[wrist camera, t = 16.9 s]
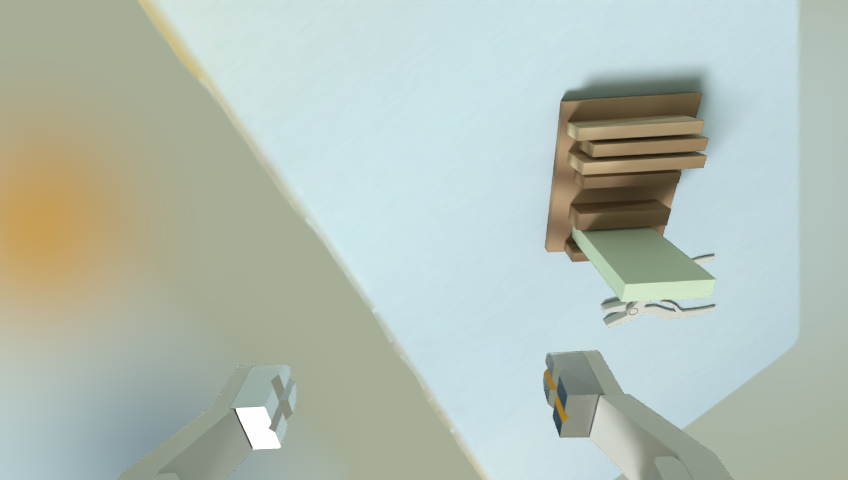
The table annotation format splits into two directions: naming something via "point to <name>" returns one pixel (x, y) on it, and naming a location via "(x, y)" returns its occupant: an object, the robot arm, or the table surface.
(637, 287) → the pale green flat block
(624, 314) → the pliers
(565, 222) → the offcut rack
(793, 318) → the table surface
